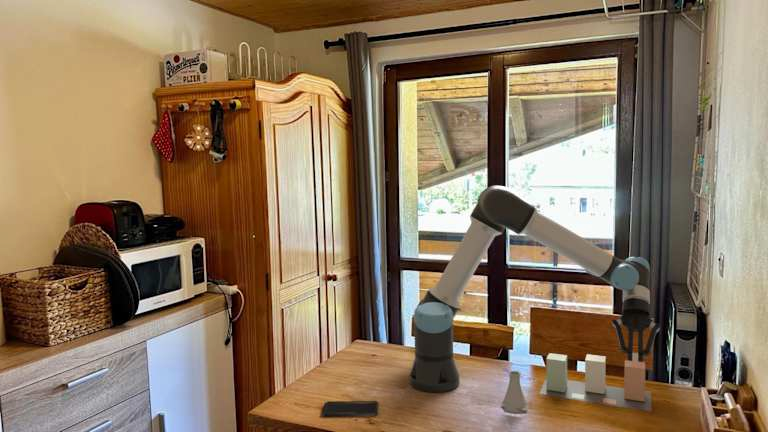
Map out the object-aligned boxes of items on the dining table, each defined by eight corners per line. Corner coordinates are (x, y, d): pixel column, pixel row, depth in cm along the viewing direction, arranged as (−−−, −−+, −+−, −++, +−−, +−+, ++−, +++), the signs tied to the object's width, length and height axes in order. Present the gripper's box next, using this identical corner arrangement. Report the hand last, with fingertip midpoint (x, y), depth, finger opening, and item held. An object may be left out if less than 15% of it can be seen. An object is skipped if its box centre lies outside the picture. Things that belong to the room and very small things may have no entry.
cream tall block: (585, 391, 147) (585, 359, 146) (586, 384, 151) (586, 354, 150) (604, 394, 144) (604, 362, 144) (605, 387, 149) (605, 356, 148)
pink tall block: (624, 398, 141) (624, 366, 141) (624, 391, 146) (625, 360, 145) (644, 401, 139) (645, 368, 138) (644, 394, 144) (645, 362, 143)
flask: (529, 415, 137) (529, 378, 136) (501, 413, 138) (501, 377, 137) (527, 403, 144) (527, 368, 143) (500, 402, 145) (500, 367, 144)
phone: (325, 401, 147) (378, 400, 146) (325, 405, 147) (378, 404, 146) (320, 414, 139) (377, 413, 138) (321, 418, 139) (377, 417, 138)
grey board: (539, 398, 146) (539, 393, 146) (546, 381, 158) (546, 376, 158) (651, 417, 134) (651, 411, 134) (650, 397, 146) (650, 391, 146)
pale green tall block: (546, 389, 148) (546, 358, 148) (549, 383, 153) (549, 353, 152) (564, 392, 146) (565, 361, 145) (567, 385, 151) (567, 355, 150)
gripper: (659, 311, 159) (660, 385, 145) (612, 307, 164) (609, 378, 151) (660, 298, 154) (662, 374, 140) (612, 295, 159) (609, 367, 146)
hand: (635, 376), depth 146 cm, fingers closed
